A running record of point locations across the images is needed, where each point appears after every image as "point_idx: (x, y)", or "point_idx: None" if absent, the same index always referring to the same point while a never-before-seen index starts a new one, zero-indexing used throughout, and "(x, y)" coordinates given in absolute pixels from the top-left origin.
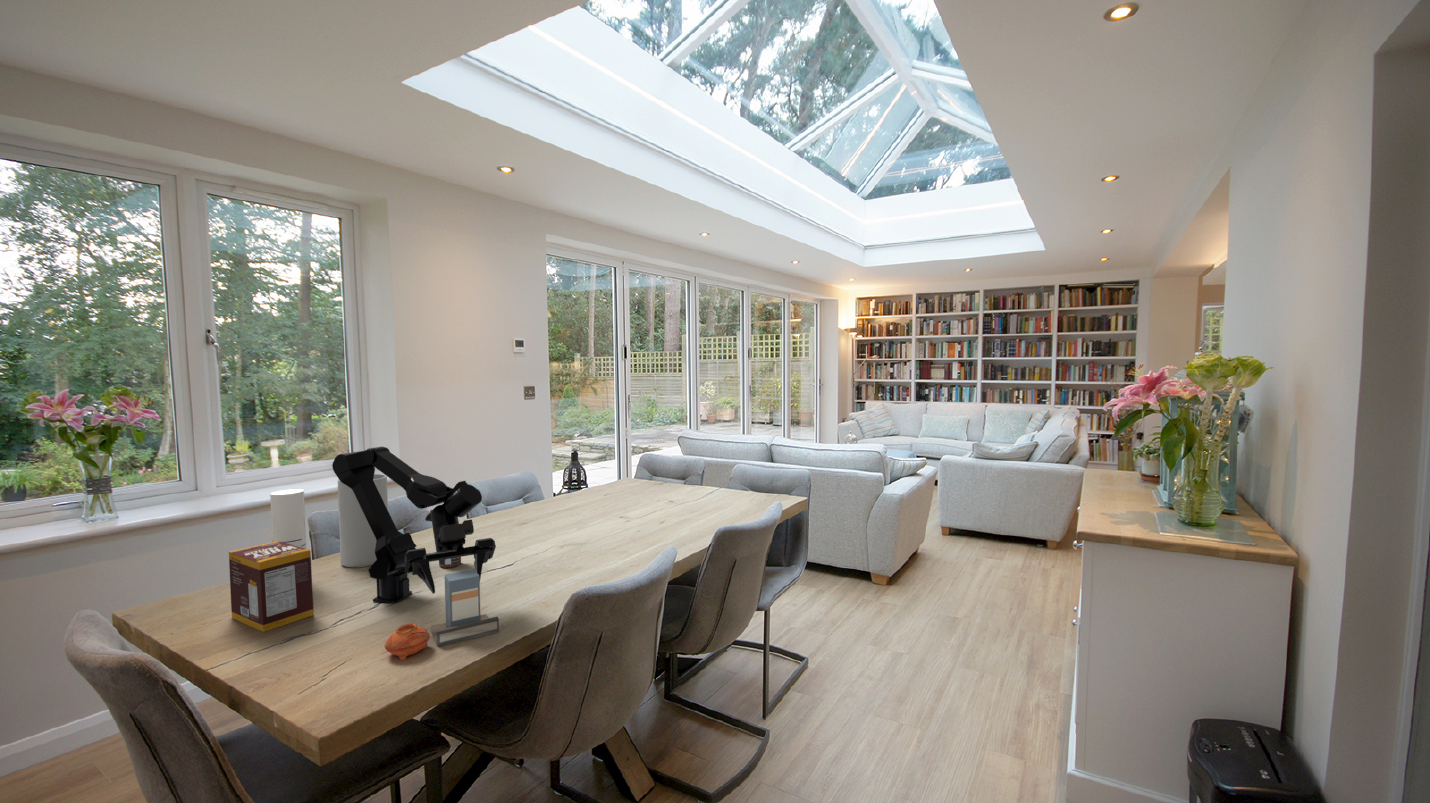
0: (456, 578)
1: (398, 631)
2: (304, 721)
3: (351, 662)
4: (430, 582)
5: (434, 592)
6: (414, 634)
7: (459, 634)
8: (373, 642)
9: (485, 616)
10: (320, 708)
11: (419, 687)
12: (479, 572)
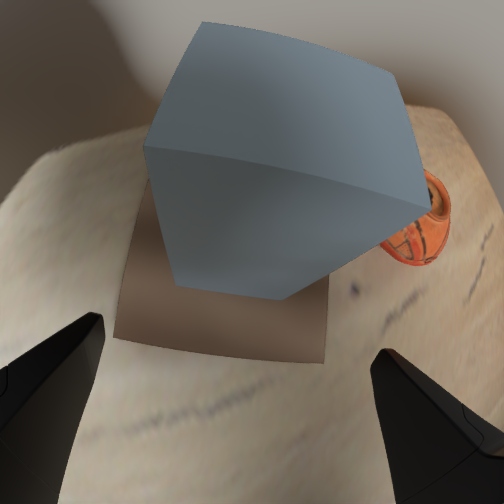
0: (352, 72)
1: (445, 190)
2: (468, 150)
3: (462, 284)
4: (429, 380)
5: (379, 353)
6: None
7: None
8: (432, 370)
9: (124, 314)
10: (465, 162)
11: None
12: (47, 350)
